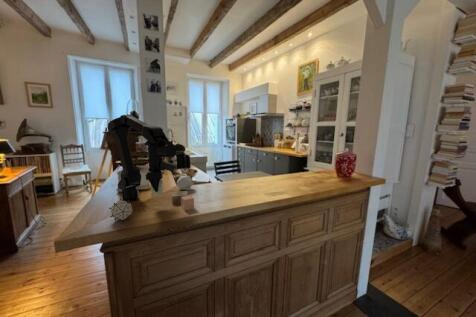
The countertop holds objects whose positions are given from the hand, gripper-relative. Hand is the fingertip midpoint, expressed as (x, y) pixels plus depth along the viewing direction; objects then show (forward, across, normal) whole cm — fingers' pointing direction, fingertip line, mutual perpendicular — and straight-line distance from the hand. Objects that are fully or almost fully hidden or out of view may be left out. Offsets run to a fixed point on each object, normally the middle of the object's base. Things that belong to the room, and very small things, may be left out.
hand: (157, 190), depth 91 cm
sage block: (+1, 0, 0) cm, 1 cm away
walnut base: (+8, +5, -10) cm, 14 cm away
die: (+8, +23, -13) cm, 28 cm away
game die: (+8, -10, +12) cm, 18 cm away
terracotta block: (+8, -5, -13) cm, 16 cm away
